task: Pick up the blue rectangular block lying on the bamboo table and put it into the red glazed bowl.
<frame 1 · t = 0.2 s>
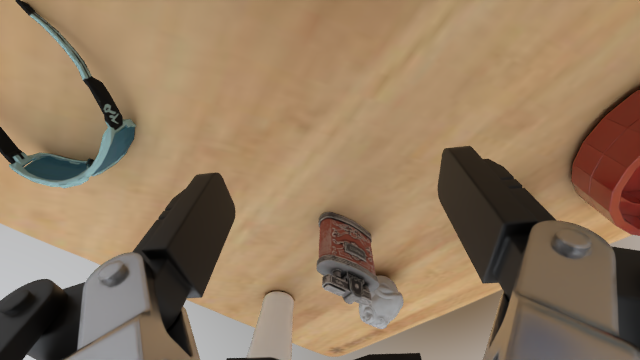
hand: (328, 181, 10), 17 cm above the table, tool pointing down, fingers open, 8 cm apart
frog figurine: (377, 277, 42), on the table
sunglasses: (58, 102, 27), on the table
lighter: (345, 227, 36), on the table
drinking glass: (279, 297, 46), on the table
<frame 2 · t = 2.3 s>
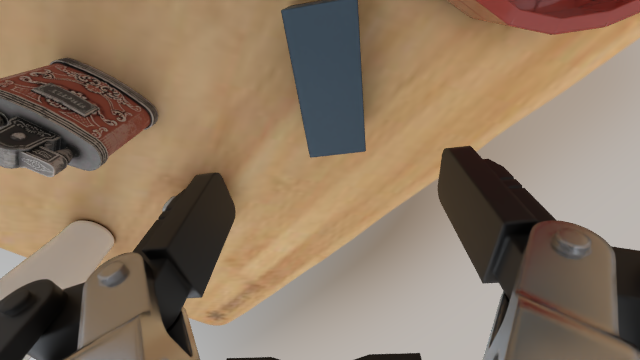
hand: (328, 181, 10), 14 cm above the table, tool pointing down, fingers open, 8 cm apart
blue rectangular block: (329, 74, 21), on the table
lighter: (111, 93, 23), on the table
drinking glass: (95, 232, 34), on the table
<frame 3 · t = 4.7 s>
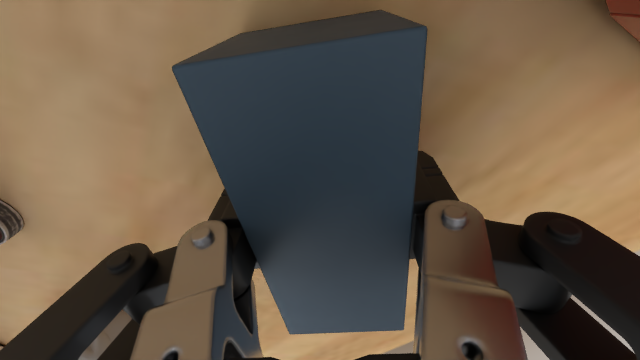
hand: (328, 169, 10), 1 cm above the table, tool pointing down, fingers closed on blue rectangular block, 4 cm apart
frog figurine: (140, 313, 19), on the table
blue rectangular block: (329, 162, 11), on the table, touching gripper
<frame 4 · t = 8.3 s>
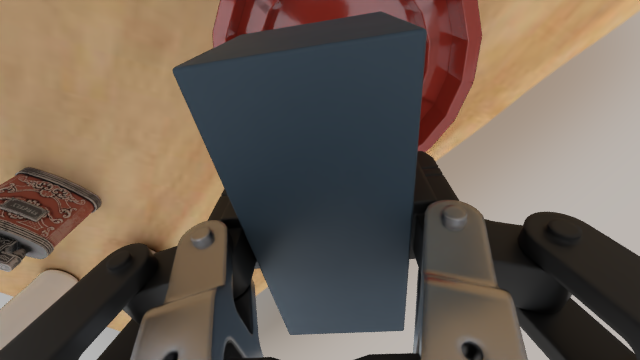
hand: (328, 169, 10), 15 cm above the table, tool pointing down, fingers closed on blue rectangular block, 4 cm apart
blue rectangular block: (329, 162, 11), point 14 cm above the table, touching gripper
lighter: (64, 187, 31), on the table
bowl: (340, 61, 22), on the table
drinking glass: (63, 277, 41), on the table
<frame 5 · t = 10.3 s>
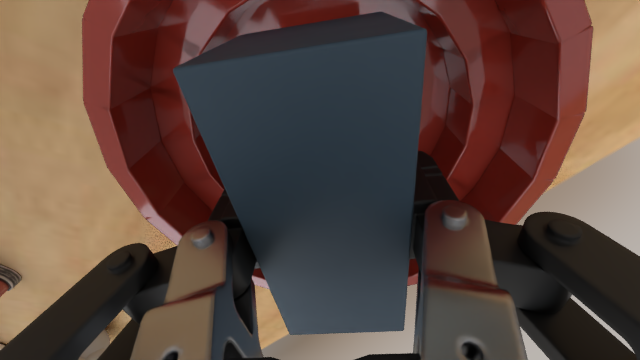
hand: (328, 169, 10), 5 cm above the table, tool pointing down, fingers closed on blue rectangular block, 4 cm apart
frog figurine: (96, 325, 30), on the table
blue rectangular block: (329, 162, 11), point 4 cm above the table, touching gripper
bowl: (328, 117, 14), on the table
when the fingers open (1 cm above the table, at t = 11.9 s): blue rectangular block stays where it is, resting on bowl.
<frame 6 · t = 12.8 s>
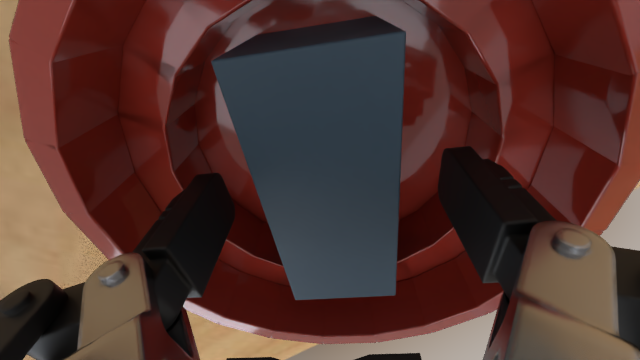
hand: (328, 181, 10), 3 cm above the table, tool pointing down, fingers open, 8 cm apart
blue rectangular block: (330, 148, 12), point 1 cm above the table, touching bowl
bowl: (329, 140, 13), on the table
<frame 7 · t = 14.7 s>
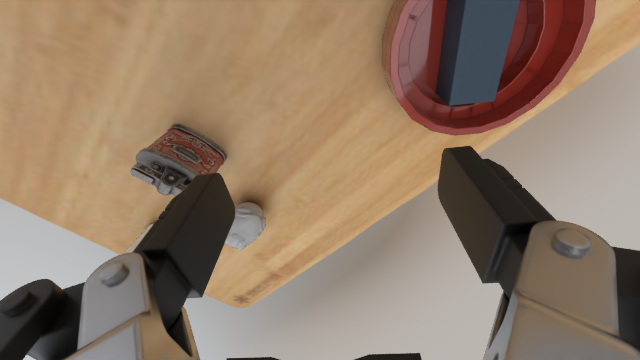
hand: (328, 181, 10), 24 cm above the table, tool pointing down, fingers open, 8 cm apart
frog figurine: (250, 207, 43), on the table
blue rectangular block: (463, 42, 28), point 1 cm above the table, touching bowl
lighter: (199, 143, 37), on the table
bowl: (460, 40, 28), on the table
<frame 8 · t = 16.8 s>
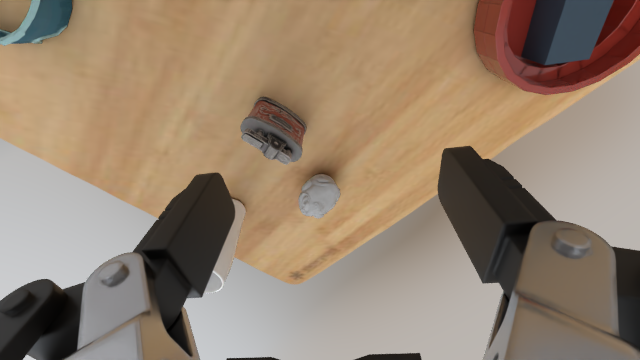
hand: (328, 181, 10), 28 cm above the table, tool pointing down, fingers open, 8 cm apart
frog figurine: (320, 180, 45), on the table
blue rectangular block: (555, 5, 29), point 1 cm above the table, touching bowl
lighter: (281, 116, 38), on the table
bowl: (551, 3, 29), on the table
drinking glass: (232, 207, 49), on the table
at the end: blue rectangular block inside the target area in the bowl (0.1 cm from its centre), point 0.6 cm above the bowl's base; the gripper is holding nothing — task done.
